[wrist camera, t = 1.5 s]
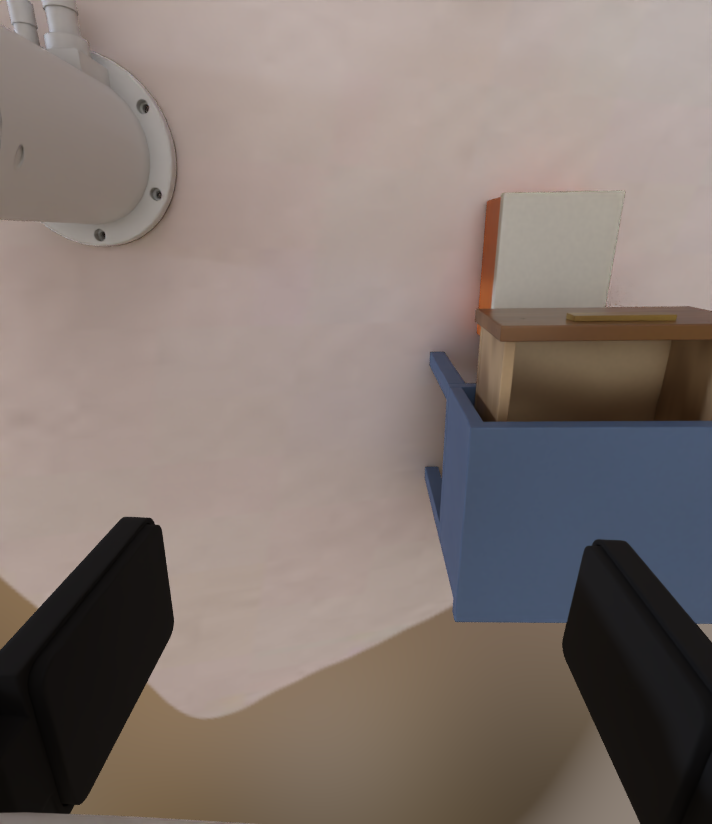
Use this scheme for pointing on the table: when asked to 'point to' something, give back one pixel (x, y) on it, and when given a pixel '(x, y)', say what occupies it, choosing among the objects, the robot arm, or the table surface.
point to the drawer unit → (565, 506)
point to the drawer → (594, 364)
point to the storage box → (549, 249)
